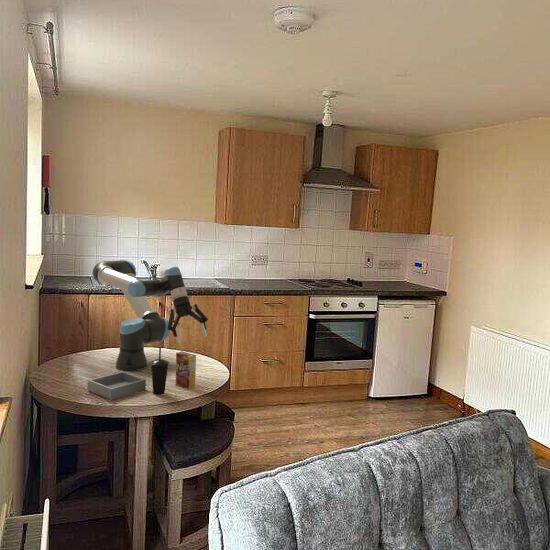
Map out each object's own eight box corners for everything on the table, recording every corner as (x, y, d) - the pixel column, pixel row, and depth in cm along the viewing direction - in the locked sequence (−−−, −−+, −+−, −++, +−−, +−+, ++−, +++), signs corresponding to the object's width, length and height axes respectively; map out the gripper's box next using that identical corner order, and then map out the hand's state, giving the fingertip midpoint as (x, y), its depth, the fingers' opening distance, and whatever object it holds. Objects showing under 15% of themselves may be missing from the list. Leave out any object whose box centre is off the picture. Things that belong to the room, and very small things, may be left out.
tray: (87, 390, 230) (87, 380, 229) (122, 381, 244) (122, 371, 244) (110, 399, 220) (111, 389, 220) (145, 389, 235) (145, 379, 234)
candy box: (174, 385, 242) (175, 352, 240) (181, 383, 246) (182, 350, 244) (188, 390, 237) (189, 356, 235) (195, 387, 241) (196, 354, 239)
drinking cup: (151, 389, 235) (152, 345, 232) (168, 390, 235) (170, 345, 233) (148, 396, 227) (149, 350, 225) (166, 396, 228) (168, 350, 225)
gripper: (158, 300, 250) (170, 343, 246) (206, 290, 263) (218, 331, 259) (153, 305, 256) (165, 347, 252) (200, 295, 269) (212, 335, 265)
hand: (192, 339), depth 255 cm, fingers open, 13 cm apart
